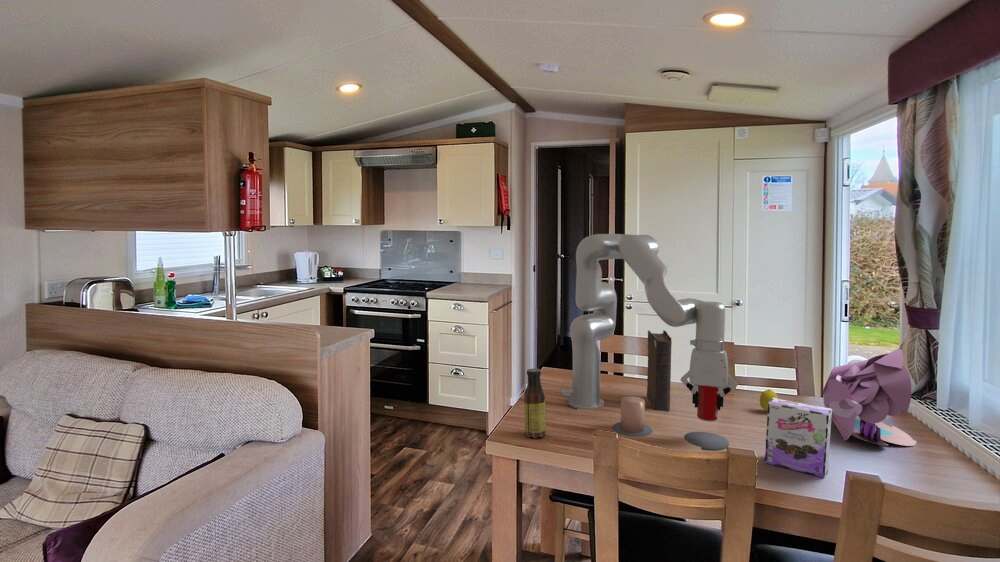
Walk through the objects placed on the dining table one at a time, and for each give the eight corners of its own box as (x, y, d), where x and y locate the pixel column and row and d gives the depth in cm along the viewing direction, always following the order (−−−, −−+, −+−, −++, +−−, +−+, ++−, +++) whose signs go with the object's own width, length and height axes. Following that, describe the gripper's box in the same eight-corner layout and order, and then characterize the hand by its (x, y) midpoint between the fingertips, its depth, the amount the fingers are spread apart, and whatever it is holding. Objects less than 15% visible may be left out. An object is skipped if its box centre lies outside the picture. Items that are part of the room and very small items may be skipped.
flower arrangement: (937, 477, 141) (977, 381, 134) (841, 453, 145) (876, 358, 139) (877, 419, 174) (907, 339, 168) (801, 400, 179) (827, 322, 172)
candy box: (763, 463, 139) (766, 402, 137) (769, 455, 143) (772, 396, 142) (824, 478, 130) (828, 413, 128) (828, 470, 135) (832, 407, 133)
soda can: (719, 422, 149) (720, 381, 148) (698, 421, 150) (700, 380, 149) (715, 416, 154) (716, 375, 153) (695, 414, 155) (696, 374, 154)
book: (670, 413, 176) (672, 339, 174) (648, 411, 178) (650, 338, 175) (666, 397, 192) (668, 330, 190) (645, 396, 194) (647, 329, 191)
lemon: (780, 416, 173) (781, 392, 173) (761, 415, 174) (762, 391, 174) (774, 410, 179) (776, 387, 178) (757, 409, 180) (758, 386, 179)
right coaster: (682, 446, 150) (682, 444, 150) (685, 431, 161) (685, 429, 161) (728, 453, 145) (728, 451, 145) (728, 437, 156) (728, 435, 156)
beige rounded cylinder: (618, 431, 159) (618, 402, 158) (622, 423, 166) (623, 395, 165) (642, 434, 156) (642, 405, 156) (645, 426, 163) (646, 398, 162)
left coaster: (608, 434, 158) (608, 432, 158) (616, 421, 169) (616, 419, 169) (649, 441, 153) (649, 439, 153) (655, 426, 164) (655, 424, 164)
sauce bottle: (550, 435, 158) (550, 370, 156) (536, 441, 153) (536, 374, 151) (533, 429, 162) (533, 366, 160) (519, 435, 158) (519, 369, 156)
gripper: (676, 345, 150) (674, 407, 152) (743, 350, 143) (740, 415, 145) (678, 340, 157) (677, 400, 159) (742, 345, 150) (740, 407, 152)
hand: (707, 407), depth 152 cm, fingers closed on soda can, 5 cm apart
